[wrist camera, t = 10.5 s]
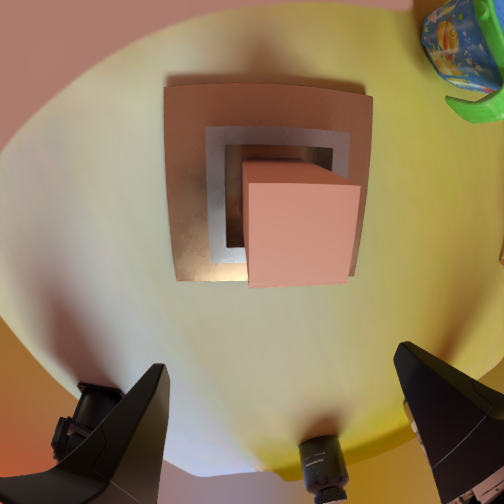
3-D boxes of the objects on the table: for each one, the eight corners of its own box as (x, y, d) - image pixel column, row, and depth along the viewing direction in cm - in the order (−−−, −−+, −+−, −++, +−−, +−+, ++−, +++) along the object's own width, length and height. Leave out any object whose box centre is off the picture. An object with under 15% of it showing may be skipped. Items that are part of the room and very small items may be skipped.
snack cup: (451, 147, 18) (541, 173, 9) (370, 59, 15) (462, 29, 6) (496, 52, 13) (564, 52, 4) (432, -24, 10) (497, -50, 1)
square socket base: (178, 274, 21) (169, 304, 18) (167, 89, 16) (151, 79, 12) (349, 270, 22) (368, 296, 19) (366, 97, 16) (394, 93, 13)
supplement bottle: (308, 435, 34) (323, 501, 24) (345, 433, 36) (363, 493, 25) (291, 452, 37) (301, 511, 26) (326, 450, 38) (339, 505, 27)
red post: (241, 216, 19) (249, 288, 11) (241, 157, 17) (248, 183, 9) (299, 216, 19) (346, 283, 11) (302, 158, 17) (360, 186, 9)
